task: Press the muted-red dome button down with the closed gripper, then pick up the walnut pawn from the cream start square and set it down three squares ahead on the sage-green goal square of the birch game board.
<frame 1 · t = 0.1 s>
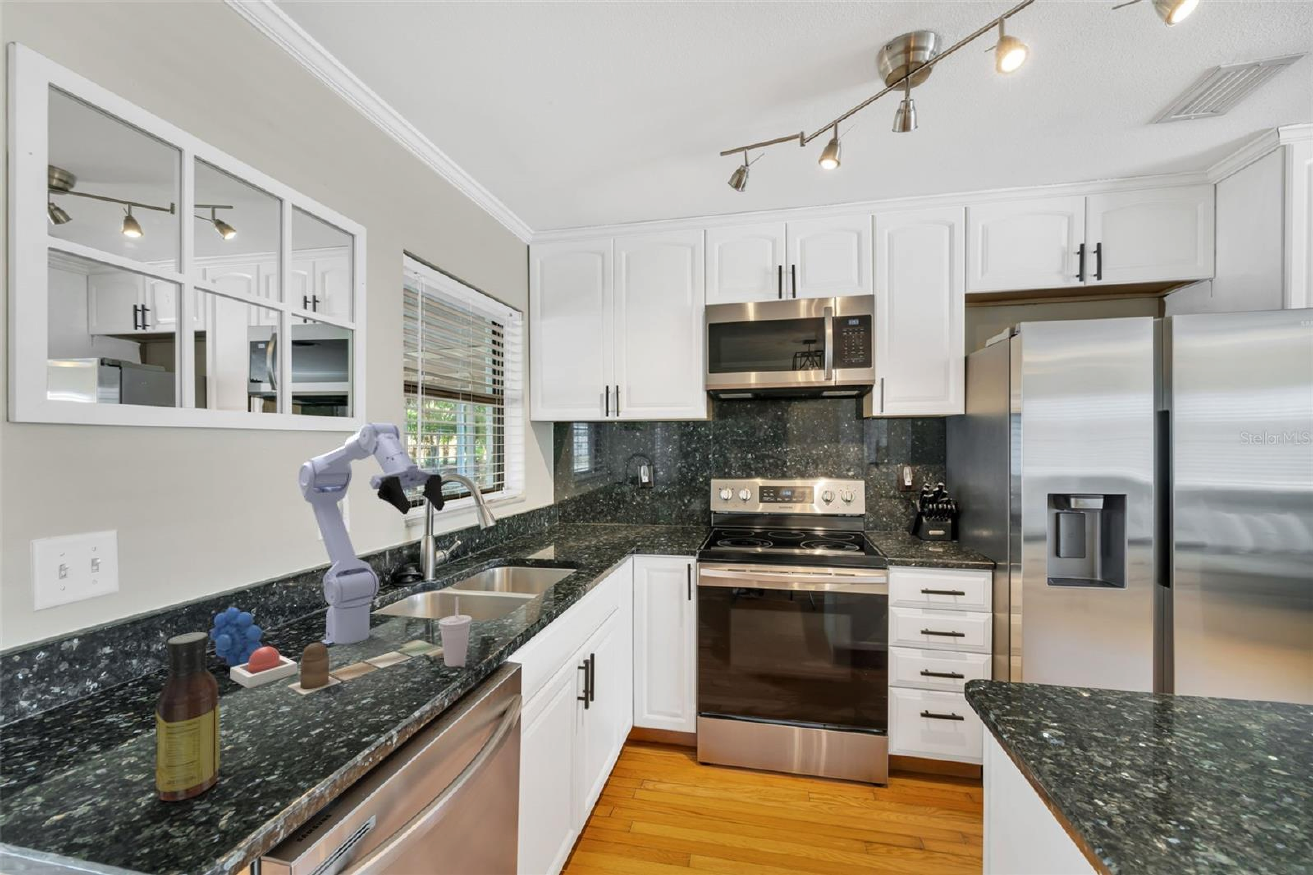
hand: (424, 509, 109), 32 cm above the worktop, tool tilted 50°, fingers open, 7 cm apart
smoothie: (455, 668, 110), on the worktop
dome base: (263, 681, 104), on the worktop
sauce bottle: (187, 792, 70), on the worktop
grapes: (231, 670, 109), on the worktop
dome button: (264, 660, 104), point 4 cm above the worktop, slide at 0.0 cm
game board: (371, 670, 109), on the worktop
walnut pawn: (314, 683, 100), point 1 cm above the worktop, touching game board
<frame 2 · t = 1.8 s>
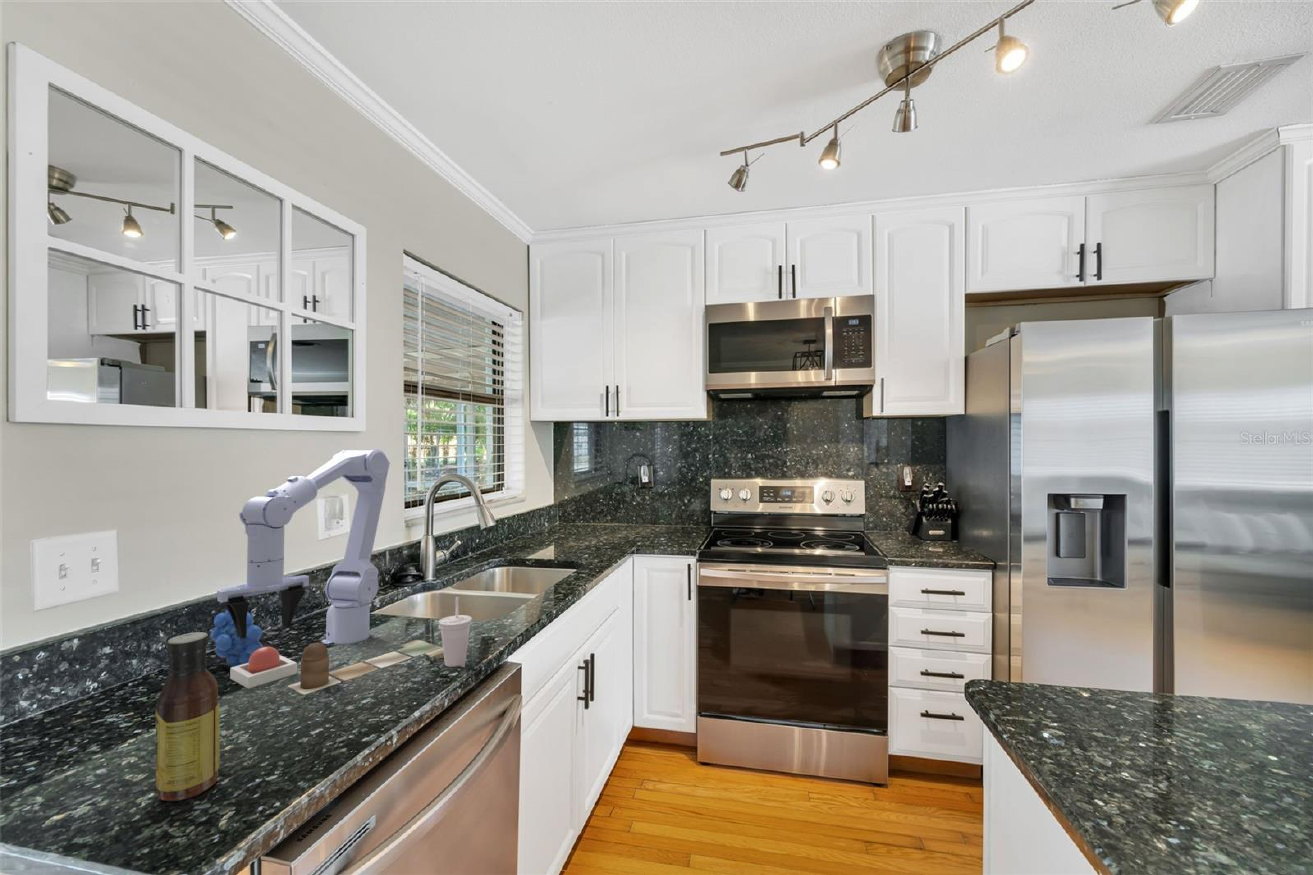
hand: (264, 631, 104), 9 cm above the worktop, tool pointing down, fingers open, 7 cm apart
nothing on the worktop moved.
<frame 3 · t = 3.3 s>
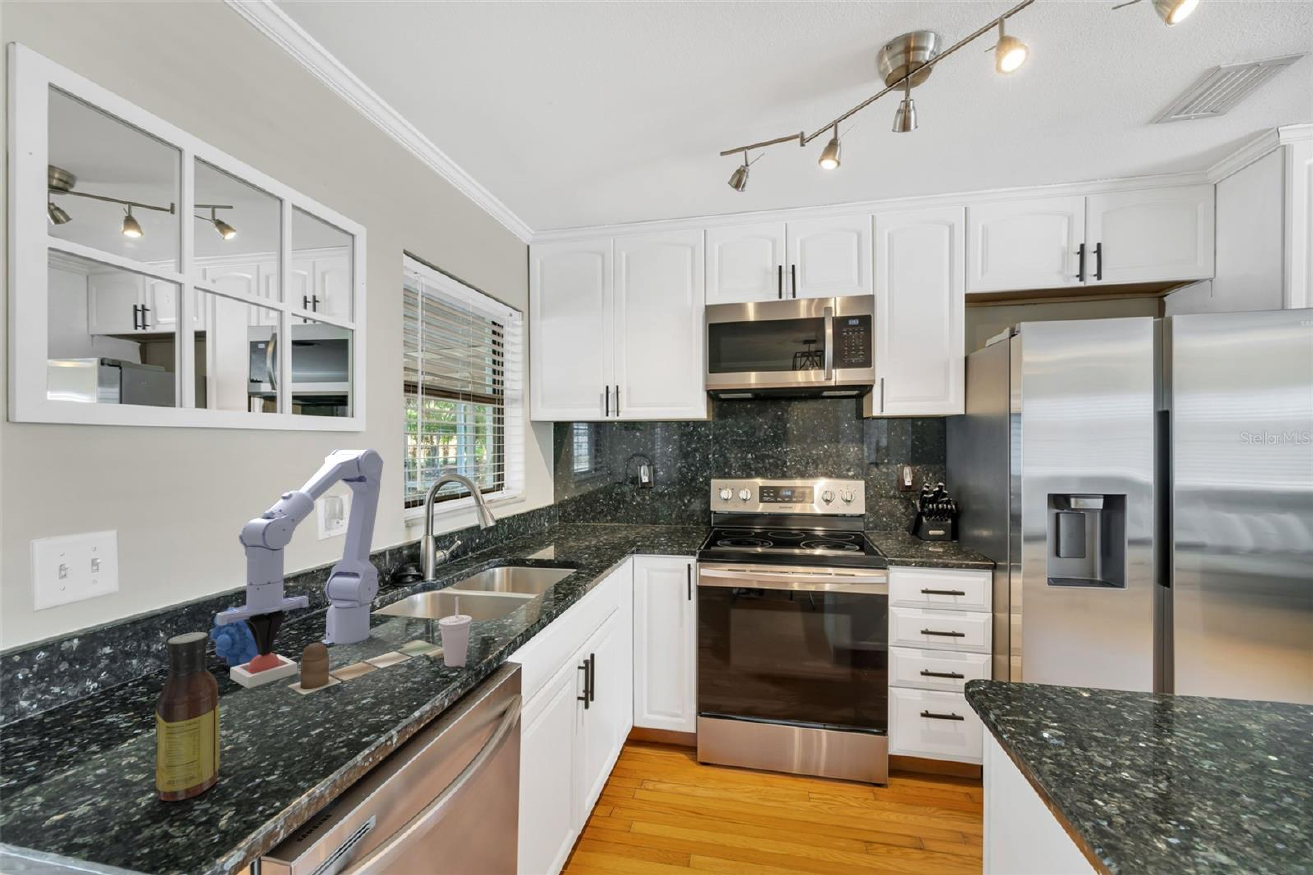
hand: (264, 653, 104), 5 cm above the worktop, tool pointing down, fingers closed, pressing on dome button
dome button: (264, 665, 104), point 3 cm above the worktop, slide at 1.1 cm, touching gripper
everything else where it was.
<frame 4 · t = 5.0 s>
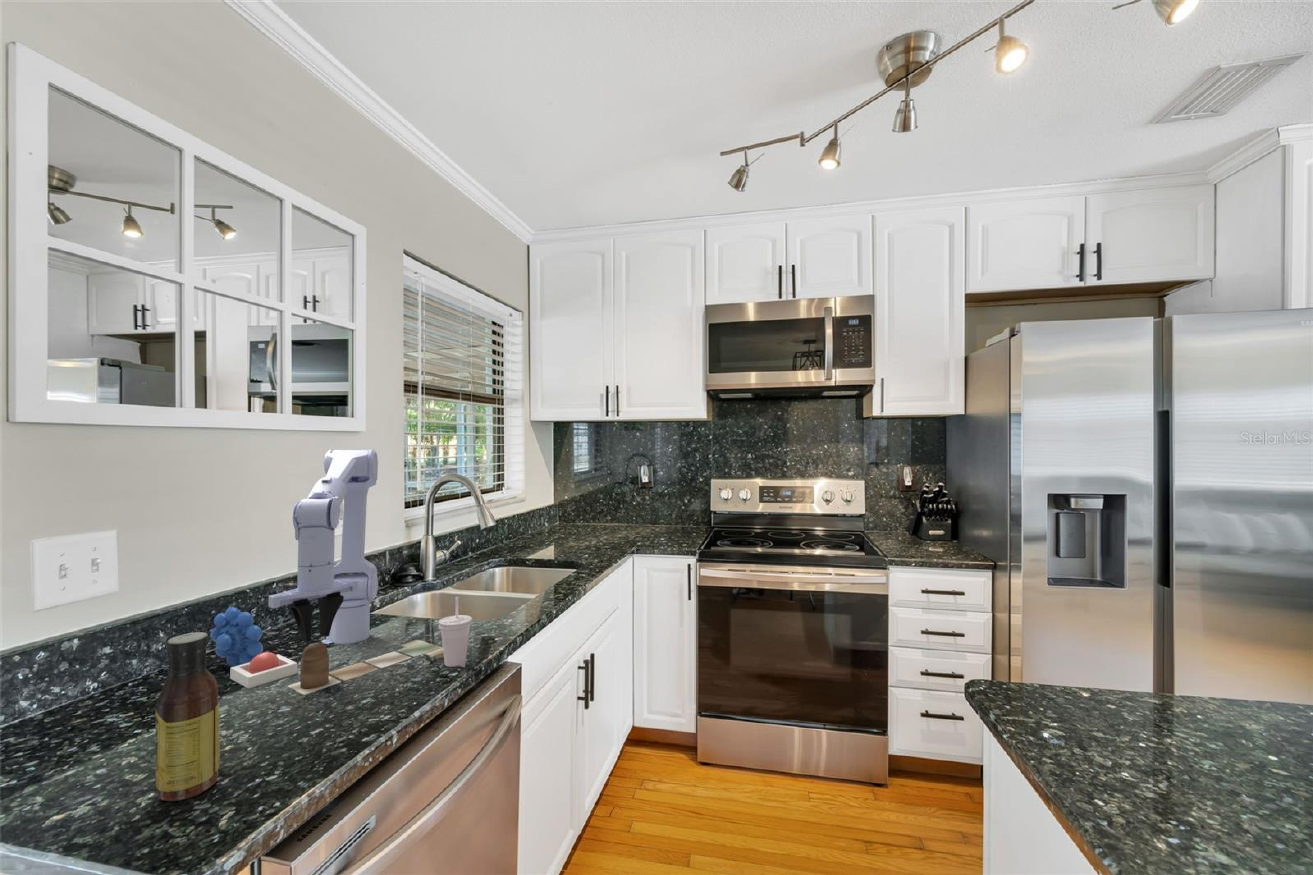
hand: (315, 638, 100), 9 cm above the worktop, tool pointing down, fingers open, 3 cm apart
dome button: (264, 665, 104), point 3 cm above the worktop, slide at 1.1 cm
everything else where it was.
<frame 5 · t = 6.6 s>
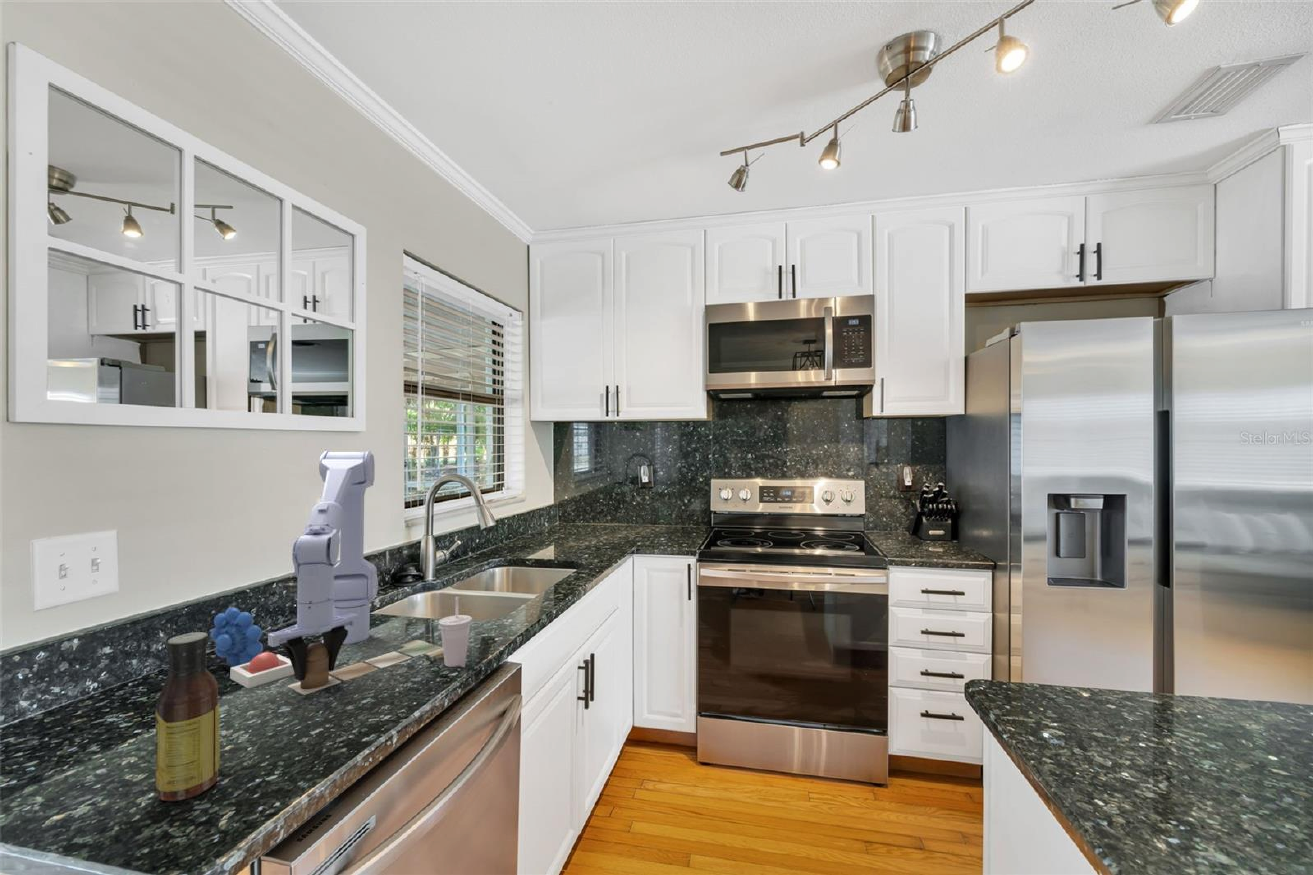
hand: (314, 674, 100), 3 cm above the worktop, tool pointing down, fingers closed on walnut pawn, 4 cm apart
walnut pawn: (314, 683, 100), point 1 cm above the worktop, touching game board, gripper
everything else where it was.
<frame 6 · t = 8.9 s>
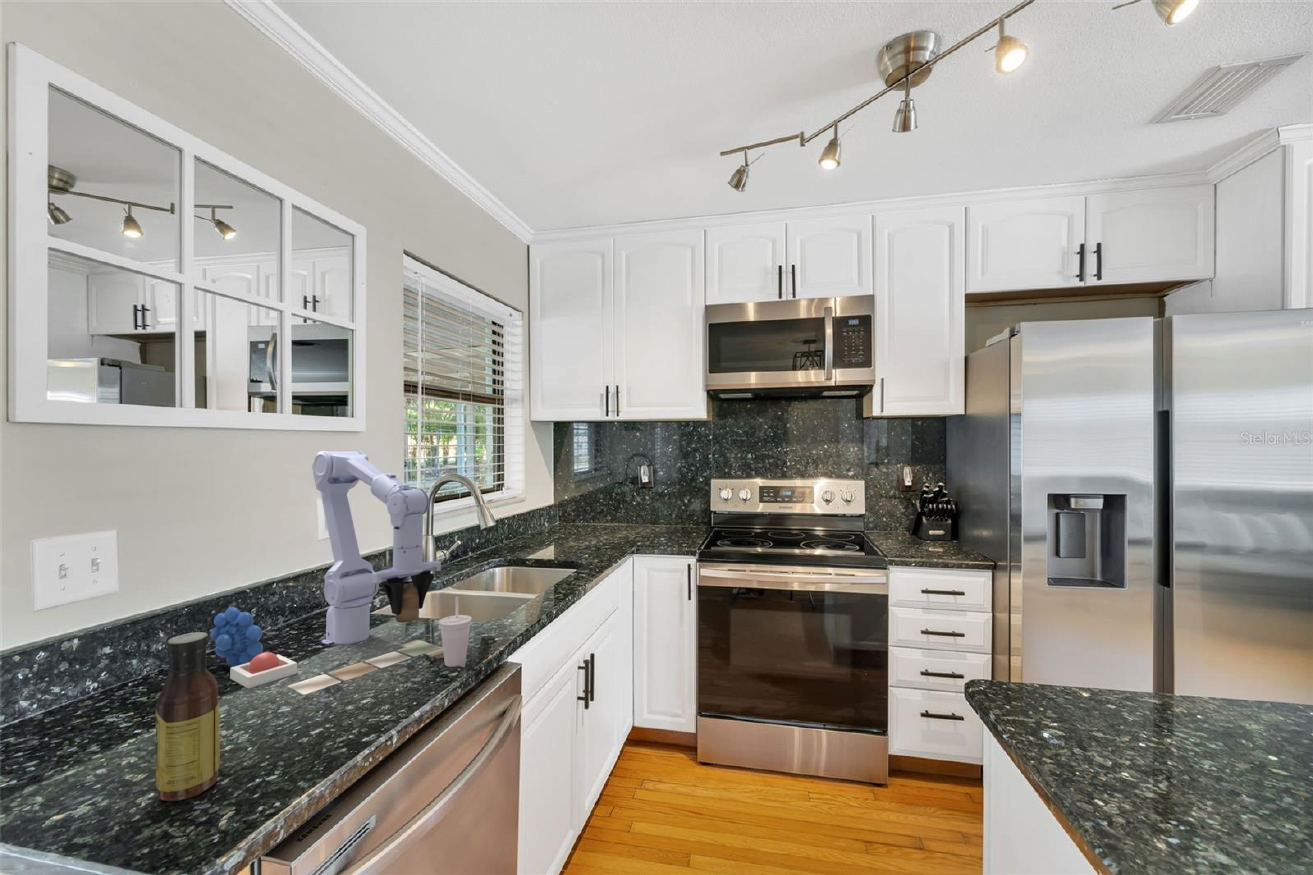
hand: (407, 610, 115), 10 cm above the worktop, tool pointing down, fingers closed on walnut pawn, 4 cm apart
walnut pawn: (407, 619, 115), point 8 cm above the worktop, touching gripper
everything else where it was.
when the fingers open (4 cm above the worktop, at t = 11.0 s): walnut pawn drops 2 cm, resting on game board.
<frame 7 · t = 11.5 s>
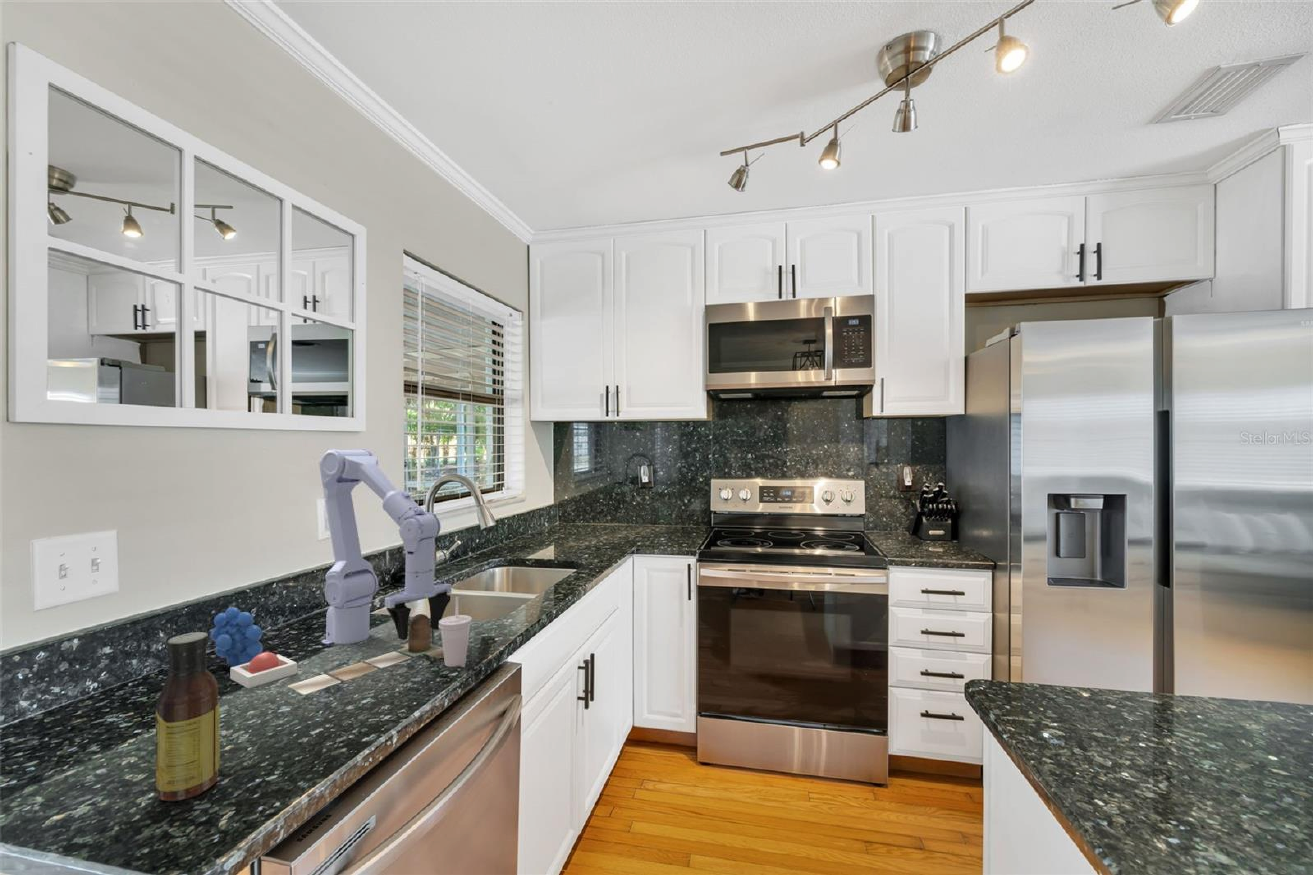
hand: (419, 633, 118), 4 cm above the worktop, tool pointing down, fingers open, 7 cm apart
walnut pawn: (419, 649, 117), point 1 cm above the worktop, touching game board
everything else where it was.
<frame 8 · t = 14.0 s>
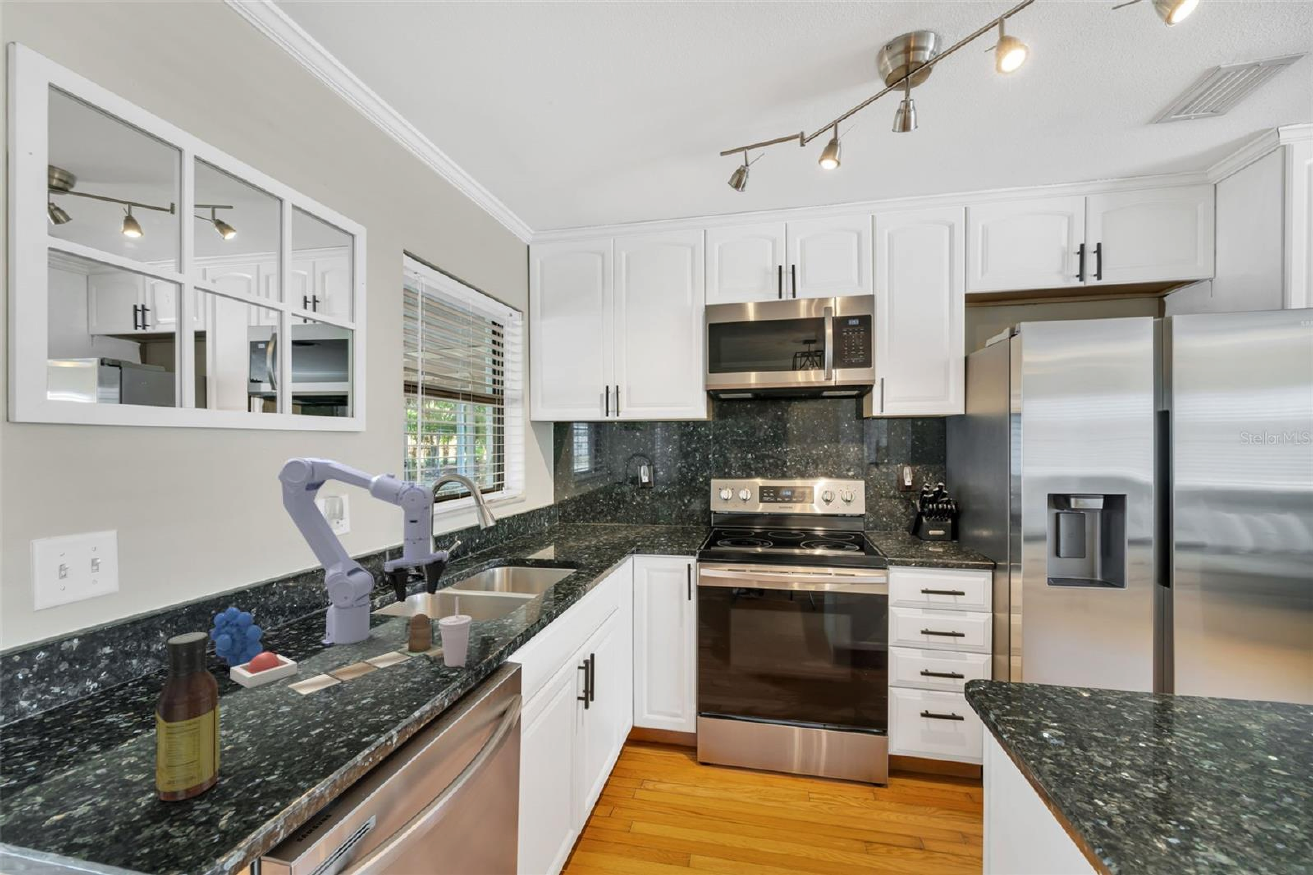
hand: (416, 597, 126), 10 cm above the worktop, tool pointing down, fingers open, 7 cm apart
nothing on the worktop moved.
at the end: walnut pawn 0.1 cm from the target spot on the game board, point 1.1 cm above the game board's base; walnut pawn tilted 1°; dome button slide at 1.1 cm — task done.
